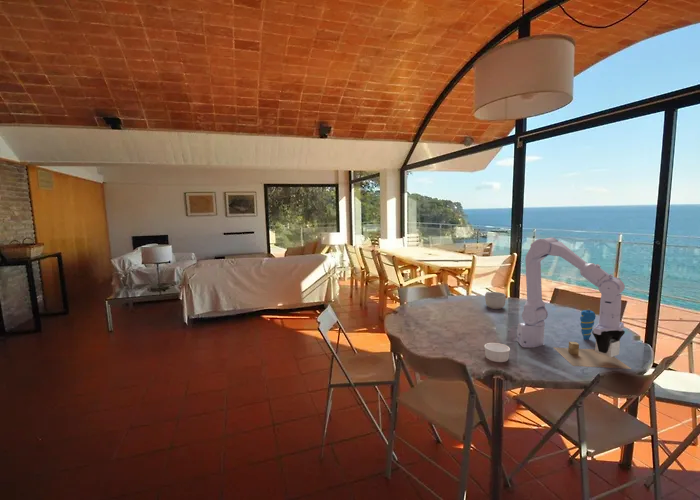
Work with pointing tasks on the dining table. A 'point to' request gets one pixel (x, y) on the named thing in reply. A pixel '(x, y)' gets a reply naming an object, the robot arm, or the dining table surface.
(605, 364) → the board
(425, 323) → the dining table surface
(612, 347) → the beige cube
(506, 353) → the ramekin
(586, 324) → the ornament
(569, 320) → the dining table surface
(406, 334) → the dining table surface
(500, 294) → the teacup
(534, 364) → the dining table surface
